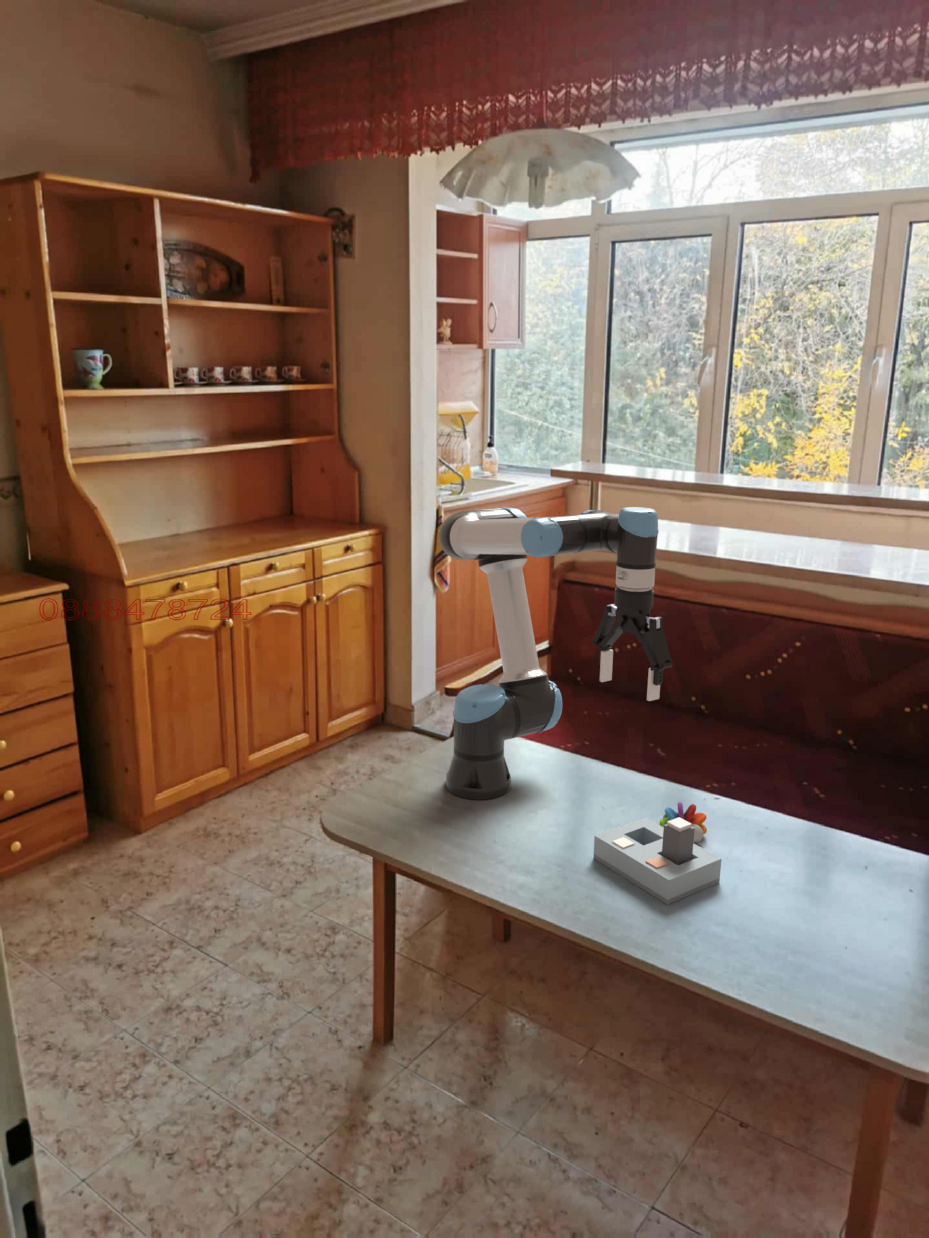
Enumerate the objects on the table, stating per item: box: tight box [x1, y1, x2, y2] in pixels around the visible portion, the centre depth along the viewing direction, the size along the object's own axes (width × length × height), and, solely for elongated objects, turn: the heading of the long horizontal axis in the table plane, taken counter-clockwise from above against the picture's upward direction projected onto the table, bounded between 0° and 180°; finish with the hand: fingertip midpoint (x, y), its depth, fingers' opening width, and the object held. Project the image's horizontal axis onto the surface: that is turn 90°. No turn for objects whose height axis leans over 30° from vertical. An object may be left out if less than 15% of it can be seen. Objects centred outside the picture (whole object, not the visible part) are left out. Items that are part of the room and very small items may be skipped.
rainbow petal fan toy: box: [659, 802, 708, 844], centre depth 195 cm, size 8×10×7 cm
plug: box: [662, 817, 695, 865], centre depth 177 cm, size 4×4×11 cm
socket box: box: [593, 817, 722, 905], centre depth 181 cm, size 20×14×5 cm
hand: (628, 690), depth 188 cm, fingers open, 13 cm apart
